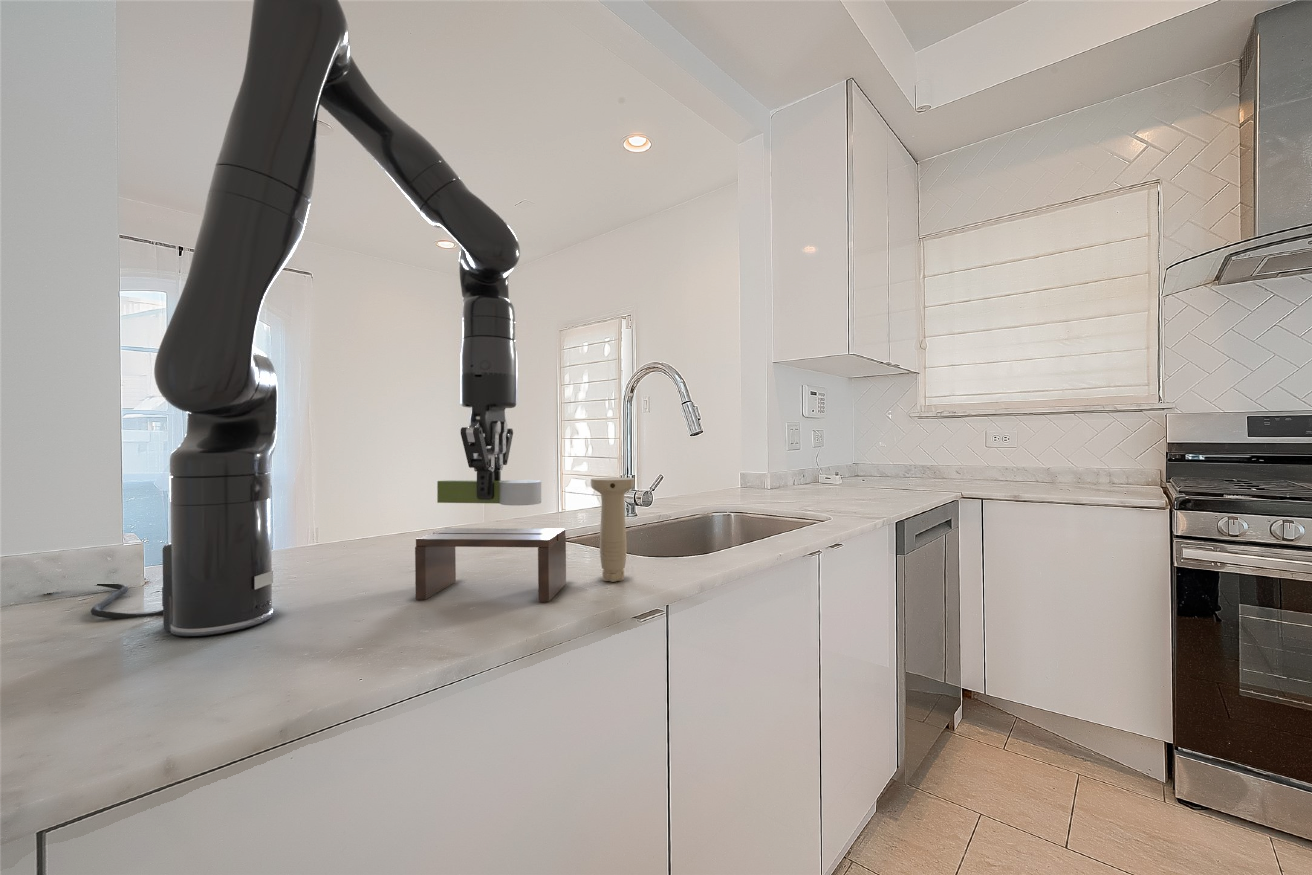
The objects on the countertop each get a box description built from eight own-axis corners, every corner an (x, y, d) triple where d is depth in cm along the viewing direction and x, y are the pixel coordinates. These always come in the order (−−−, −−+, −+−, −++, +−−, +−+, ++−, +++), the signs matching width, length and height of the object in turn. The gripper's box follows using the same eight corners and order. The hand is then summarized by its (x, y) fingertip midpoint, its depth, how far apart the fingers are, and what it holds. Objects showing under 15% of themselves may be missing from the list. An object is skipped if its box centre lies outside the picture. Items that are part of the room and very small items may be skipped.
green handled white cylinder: (430, 504, 75) (430, 482, 75) (449, 499, 81) (449, 479, 81) (534, 505, 74) (534, 483, 74) (546, 500, 80) (546, 479, 80)
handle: (635, 583, 81) (634, 479, 81) (590, 584, 80) (590, 480, 80) (634, 575, 86) (633, 477, 86) (592, 576, 85) (591, 477, 85)
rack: (415, 599, 74) (414, 539, 74) (446, 581, 83) (446, 527, 83) (548, 602, 72) (548, 540, 72) (566, 583, 81) (565, 528, 81)
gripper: (482, 378, 85) (482, 493, 85) (439, 367, 71) (439, 503, 71) (530, 378, 84) (530, 493, 84) (497, 366, 70) (496, 504, 70)
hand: (488, 497), depth 77 cm, fingers closed on green handled white cylinder, 2 cm apart
